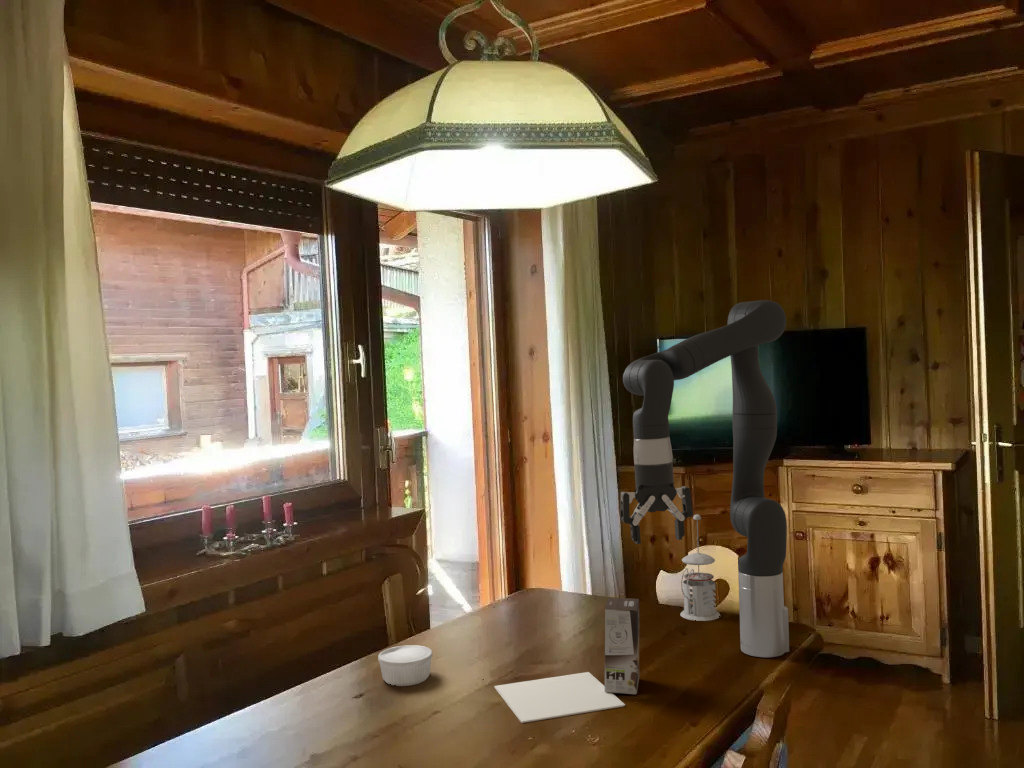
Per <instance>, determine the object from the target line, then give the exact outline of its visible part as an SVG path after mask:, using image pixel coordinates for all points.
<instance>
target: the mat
mask: <svg viewBox="0 0 1024 768" xmlns="http://www.w3.org/2000/svg"><path fill="white" fill-rule="evenodd" d="M493 687H494V689H495V690H496V692H497V693H498V694H499V695H500V696H501V698H502V699H503V701H504V702H505V704H506V705H507V706H508V708H509V709H510V710H511V711H512V712H513V714H514V715H515V716H516V718H517V720H519V722H520V723H521V724H524V723H531V722H537V721H542V720H549V719H555V718H561V717H568V716H573V715H580V714H584V713H585V714H586V713H592V712H598V711H603V710H609V709H616V708H623V707H625V706H626V704H625V703H624V702H623V701H622V700H620V698H618V697H617V696H616V695H615V693H612V692H605V684H603V683H602V682H601V681H599V679H597V678H596V677H595V676H593V674H592V673H590V672H589V671H586V672H578V673H571V674H566V675H560V676H558V675H557V676H553V677H551V676H550V677H544V678H539V679H533V680H526V681H525V680H524V681H519V682H511V683H506V684H499V685H494V686H493Z"/></svg>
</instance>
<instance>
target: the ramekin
mask: <svg viewBox="0 0 1024 768" xmlns="http://www.w3.org/2000/svg"><path fill="white" fill-rule="evenodd" d="M377 657H378V658H377V659H378V663H379V666H380V671H381V672H380V673H381V676H382V679H383V681H384V682H385V683H387V684H388V685H390V684H391V685H390V686H394V685H396V686H395V687H406V686H408V687H409V686H414V685H419V684H421V683H424V682H425V681H426V680H427V679H428V678H429V676H430V674H431V666H432V658H433V650H432V649H431V648H429V647H428V646H423V645H418V644H417V645H415V644H408V645H407V644H406V645H398V646H393V647H389V648H386V649H384V650H382V651H381V652H380V653H379V654H378V656H377Z"/></svg>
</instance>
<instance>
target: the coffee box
mask: <svg viewBox="0 0 1024 768" xmlns="http://www.w3.org/2000/svg"><path fill="white" fill-rule="evenodd" d="M639 680H640V599H639V598H625V597H624V598H623V597H622V598H621V597H619V598H617V597H616V598H614V597H612V598H611V597H608V599H607V602H606V604H605V608H604V686H605V692H612V693H613V694H626V695H637V694H638V688H639V682H640V681H639Z"/></svg>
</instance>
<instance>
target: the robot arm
mask: <svg viewBox="0 0 1024 768" xmlns="http://www.w3.org/2000/svg"><path fill="white" fill-rule="evenodd" d="M786 326H787V316H786V312H785V310H784V308H783V307H782V305H781V304H779V303H777V301H776V302H775V301H774V300H769V299H763V300H761V299H760V300H751V301H742V302H738V303H736V304H734V305H733V307H731V309H730V310H729V313H728V316H727V324H726V325H724V326H721V327H717V328H715V329H711V330H708V331H705V332H702V333H699V334H695V335H693V336H691V337H688V338H686V339H684V340H681V341H679V342H678V343H676V344H673V345H671V346H670V347H668V348H667V349H663V350H661V351H658V352H655V353H652V354H649V355H646V356H643V357H640V358H638V359H636V360H634V361H631V363H629V364H628V365H627V367H626V368H625V370H624V372H623V374H622V382H623V386H624V388H625V389H626V391H628V392H629V393H631V394H633V395H636V396H643V401H642V406H641V407H640V408H638V409H636V410H635V411H634V412H633V415H632V428H633V430H632V431H633V463H634V480H635V490H634V491H633V492H632V491H631V492H629V491H627V492H626V491H621V492H620V494H619V501H620V502H619V505H620V506H619V507H620V510H619V511H620V512H619V514H620V516H619V518H620V520H621V522H623V523H625V524H628V525H630V538H631V540H632V541H633V542H634V544H636V545H641V541H642V540H641V528H640V526H641V525H639V523H640V522H641V520H642V519H643V518H644V517H645V516H646V514H647V512H648V513H655V512H666V511H668V512H670V513H671V514H672V516H673V517H674V518H675V519H674V533H675V535H674V536H675V539H676V540H677V541H680V540H683V537H685V535H686V534H685V532H686V530H685V521H686V519H688V518H692V517H693V516H694V510H693V503H692V502H693V501H692V494H691V488H689V487H687V486H685V485H681V486H680V487H677V488H676V487H675V480H674V479H675V478H674V467H673V458H674V457H673V456H674V455H673V450H672V444H671V443H672V442H671V439H670V421H669V414H670V410H671V404H672V401H673V400H672V398H673V394H674V387H675V381H680V380H684V379H686V378H689V377H691V376H693V375H695V374H696V373H698V372H700V371H703V370H704V369H705V368H708V367H710V366H711V365H714V364H715V363H718V362H720V361H722V360H724V359H726V358H728V357H730V365H731V382H732V383H731V384H732V386H731V387H732V415H731V416H732V439H733V440H732V443H733V445H732V446H733V448H732V450H733V451H732V452H733V455H732V457H733V458H732V463H733V464H732V466H733V468H732V484H731V485H732V486H731V495H730V505H729V515H730V516H729V518H730V523H731V526H732V528H733V529H734V530H735V532H737V534H739V535H741V536H743V537H746V538H747V541H746V543H747V545H746V547H747V548H746V553H745V554H743V555H741V556H740V557H739V558H738V560H737V570H738V571H737V573H738V575H737V576H738V578H737V579H738V580H737V581H738V604H739V606H738V607H739V634H740V635H739V636H740V637H739V639H740V640H739V642H740V651H741V652H742V653H744V654H746V655H748V656H752V657H758V658H775V657H776V658H777V657H780V656H783V655H784V654H785V653H788V652H790V638H789V637H790V635H789V634H790V633H789V631H790V630H789V609H788V607H787V606H785V604H784V603H785V602H784V600H785V599H784V598H785V597H784V573H783V572H784V571H783V570H784V569H783V568H784V563H785V560H786V557H787V538H788V537H787V533H788V525H787V517H786V513H785V510H784V508H783V506H782V505H781V504H780V503H779V502H778V501H776V500H774V499H770V498H767V497H765V484H764V483H765V482H764V481H765V470H766V466H767V463H768V461H769V458H770V456H771V454H772V451H773V449H774V447H775V443H776V440H777V435H778V415H777V413H778V410H777V409H778V408H777V402H776V400H775V398H774V395H773V393H772V390H771V389H770V387H769V385H768V383H767V381H766V379H765V377H764V374H763V373H762V370H761V364H760V359H759V358H760V356H759V346H761V345H763V344H764V345H765V344H768V343H772V342H774V341H777V340H778V339H779V338H780V337H781V336H782V335H783V333H784V331H785V329H786V328H787V327H786ZM677 495H678V497H679V498H680V499H681V505H682V511H680V509H679V508H678V507H677V506H676V505H675V504H674V502H673V501H674V500H675V498H676V496H677ZM633 499H635V501H637V505H636V507H635V509H634V510H633V513H632V514H631V516H630V504H631V503H632V502H633V501H634V500H633Z"/></svg>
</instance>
